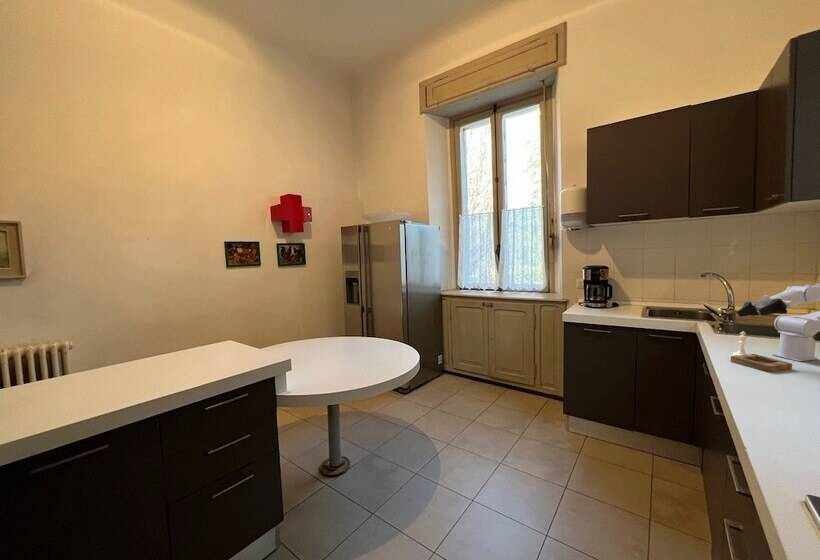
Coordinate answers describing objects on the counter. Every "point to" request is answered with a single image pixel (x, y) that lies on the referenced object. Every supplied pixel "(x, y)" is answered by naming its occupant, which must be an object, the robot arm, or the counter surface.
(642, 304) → the counter surface
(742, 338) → the chess piece
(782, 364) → the socket board
